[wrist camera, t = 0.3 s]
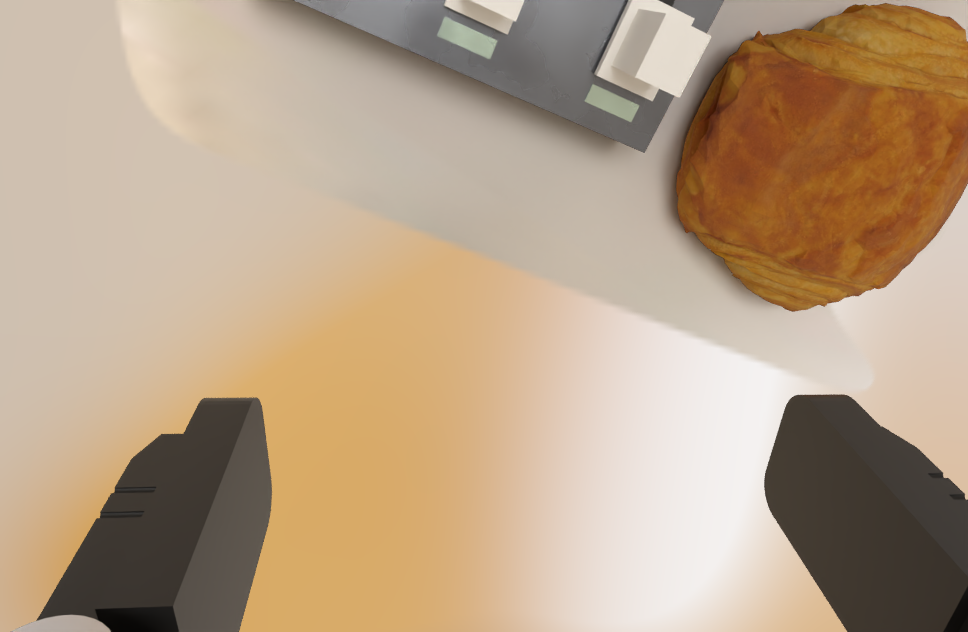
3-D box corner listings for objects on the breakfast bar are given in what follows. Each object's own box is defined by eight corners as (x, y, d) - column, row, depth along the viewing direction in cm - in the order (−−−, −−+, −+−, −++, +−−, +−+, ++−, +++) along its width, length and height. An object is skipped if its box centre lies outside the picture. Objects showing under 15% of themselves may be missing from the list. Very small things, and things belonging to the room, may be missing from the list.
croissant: (957, 63, 37) (1105, 62, 30) (817, 316, 41) (917, 370, 34) (743, -51, 33) (853, -86, 26) (613, 241, 37) (675, 284, 30)
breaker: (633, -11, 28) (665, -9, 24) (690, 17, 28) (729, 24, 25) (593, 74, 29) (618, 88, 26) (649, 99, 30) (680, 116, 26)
